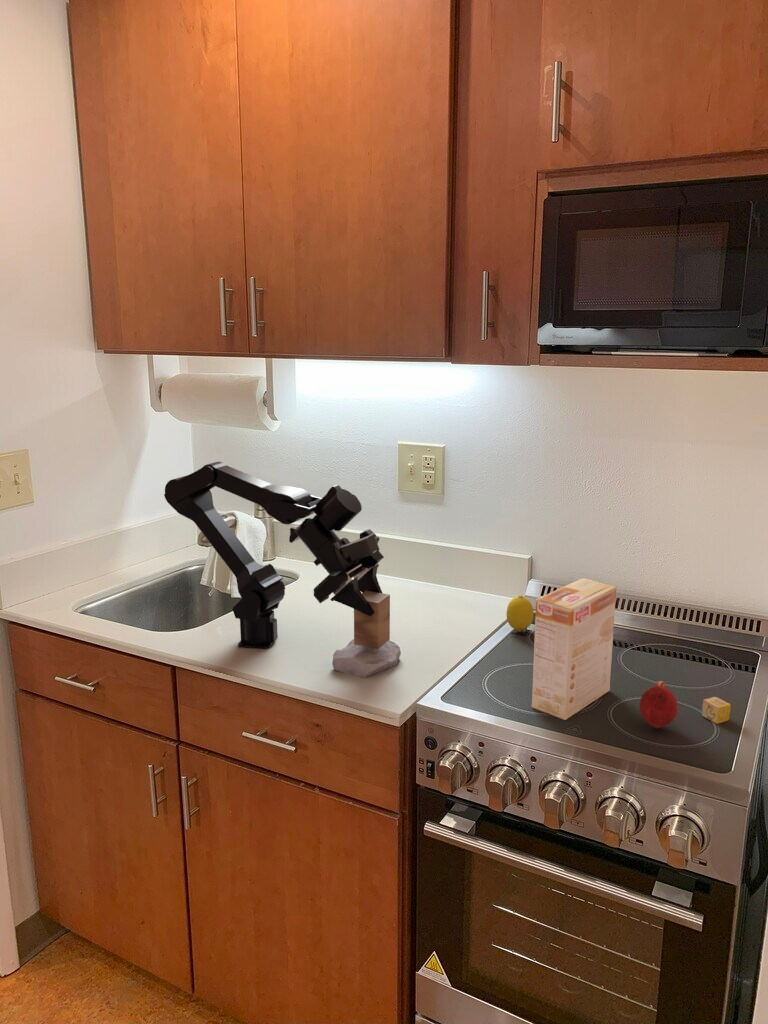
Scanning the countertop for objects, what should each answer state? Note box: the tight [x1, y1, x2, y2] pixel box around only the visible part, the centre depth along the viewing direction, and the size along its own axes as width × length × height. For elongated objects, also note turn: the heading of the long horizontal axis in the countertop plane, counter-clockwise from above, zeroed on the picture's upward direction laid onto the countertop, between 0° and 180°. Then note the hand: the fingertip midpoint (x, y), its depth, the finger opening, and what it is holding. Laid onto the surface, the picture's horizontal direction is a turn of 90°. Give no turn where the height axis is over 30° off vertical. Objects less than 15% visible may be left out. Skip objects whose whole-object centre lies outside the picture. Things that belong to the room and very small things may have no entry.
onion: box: [639, 680, 679, 729], centre depth 129 cm, size 6×6×8 cm
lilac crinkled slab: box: [331, 638, 402, 678], centre depth 154 cm, size 12×5×10 cm
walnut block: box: [353, 591, 391, 649], centre depth 152 cm, size 5×5×9 cm
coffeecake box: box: [531, 577, 618, 721], centre depth 138 cm, size 15×7×20 cm, turn 136°
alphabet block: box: [701, 696, 731, 725], centre depth 133 cm, size 3×3×3 cm
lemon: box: [506, 594, 535, 633], centre depth 168 cm, size 6×6×8 cm
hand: (378, 610), depth 151 cm, fingers closed on walnut block, 5 cm apart
